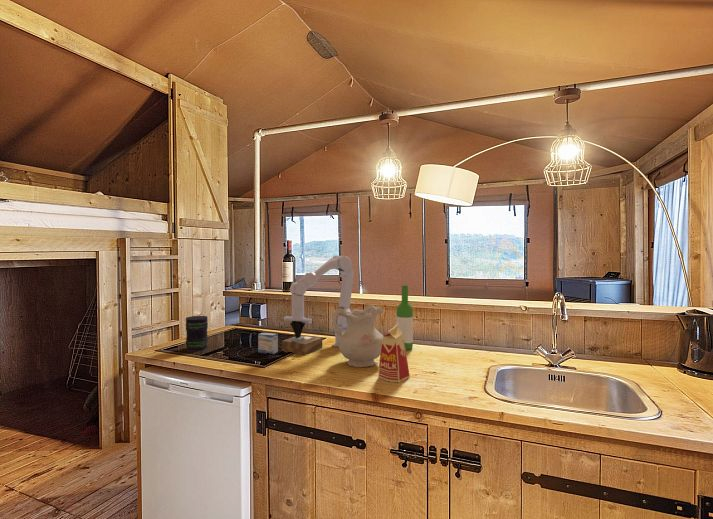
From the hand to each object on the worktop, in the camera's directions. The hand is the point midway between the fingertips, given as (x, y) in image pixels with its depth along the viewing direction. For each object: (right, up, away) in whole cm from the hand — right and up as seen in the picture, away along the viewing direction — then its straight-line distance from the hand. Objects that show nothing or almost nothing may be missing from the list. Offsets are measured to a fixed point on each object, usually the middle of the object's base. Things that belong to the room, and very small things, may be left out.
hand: (297, 337), depth 187 cm
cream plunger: (+3, -6, +7) cm, 10 cm away
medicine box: (-14, -7, -1) cm, 15 cm away
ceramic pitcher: (+28, -8, -18) cm, 34 cm away
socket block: (+2, -6, +3) cm, 7 cm away
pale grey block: (0, -5, 0) cm, 5 cm away
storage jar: (-49, -7, +5) cm, 50 cm away
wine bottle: (+50, -7, +6) cm, 51 cm away
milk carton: (+41, -8, -37) cm, 56 cm away
